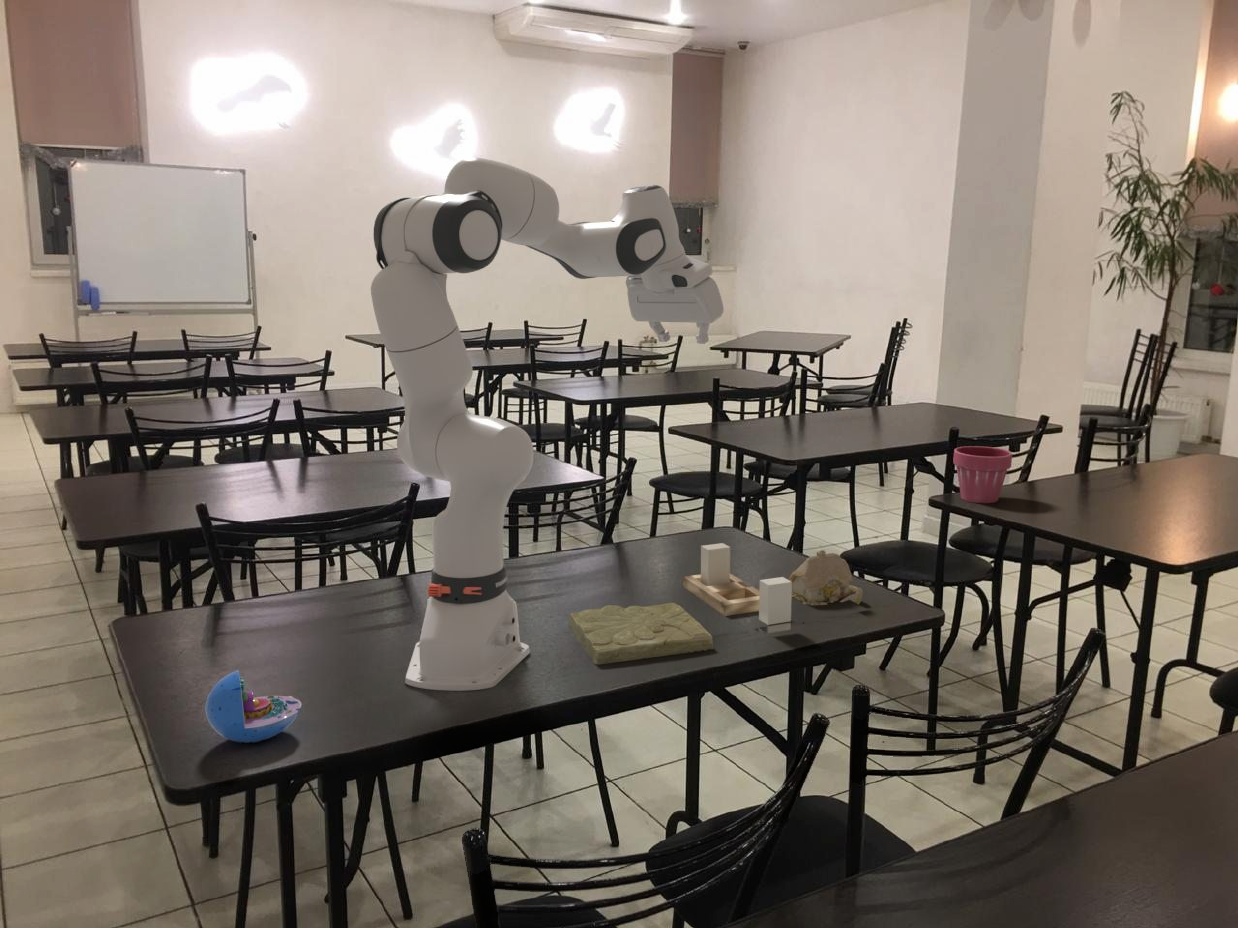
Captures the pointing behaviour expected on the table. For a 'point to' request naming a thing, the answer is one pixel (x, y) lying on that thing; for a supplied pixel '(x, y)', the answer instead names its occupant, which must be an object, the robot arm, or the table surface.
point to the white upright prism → (715, 564)
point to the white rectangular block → (775, 604)
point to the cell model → (247, 711)
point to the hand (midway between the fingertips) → (683, 341)
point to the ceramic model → (824, 580)
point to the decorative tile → (637, 632)
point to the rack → (725, 595)
